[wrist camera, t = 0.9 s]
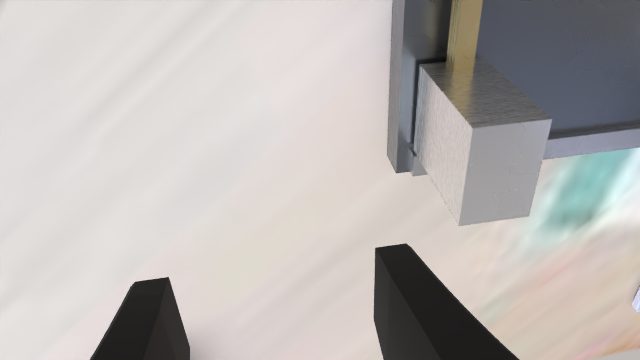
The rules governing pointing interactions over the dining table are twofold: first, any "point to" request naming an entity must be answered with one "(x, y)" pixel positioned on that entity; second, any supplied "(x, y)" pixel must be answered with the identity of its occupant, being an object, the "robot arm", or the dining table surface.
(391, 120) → the gauge plate
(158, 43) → the dining table surface
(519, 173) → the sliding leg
